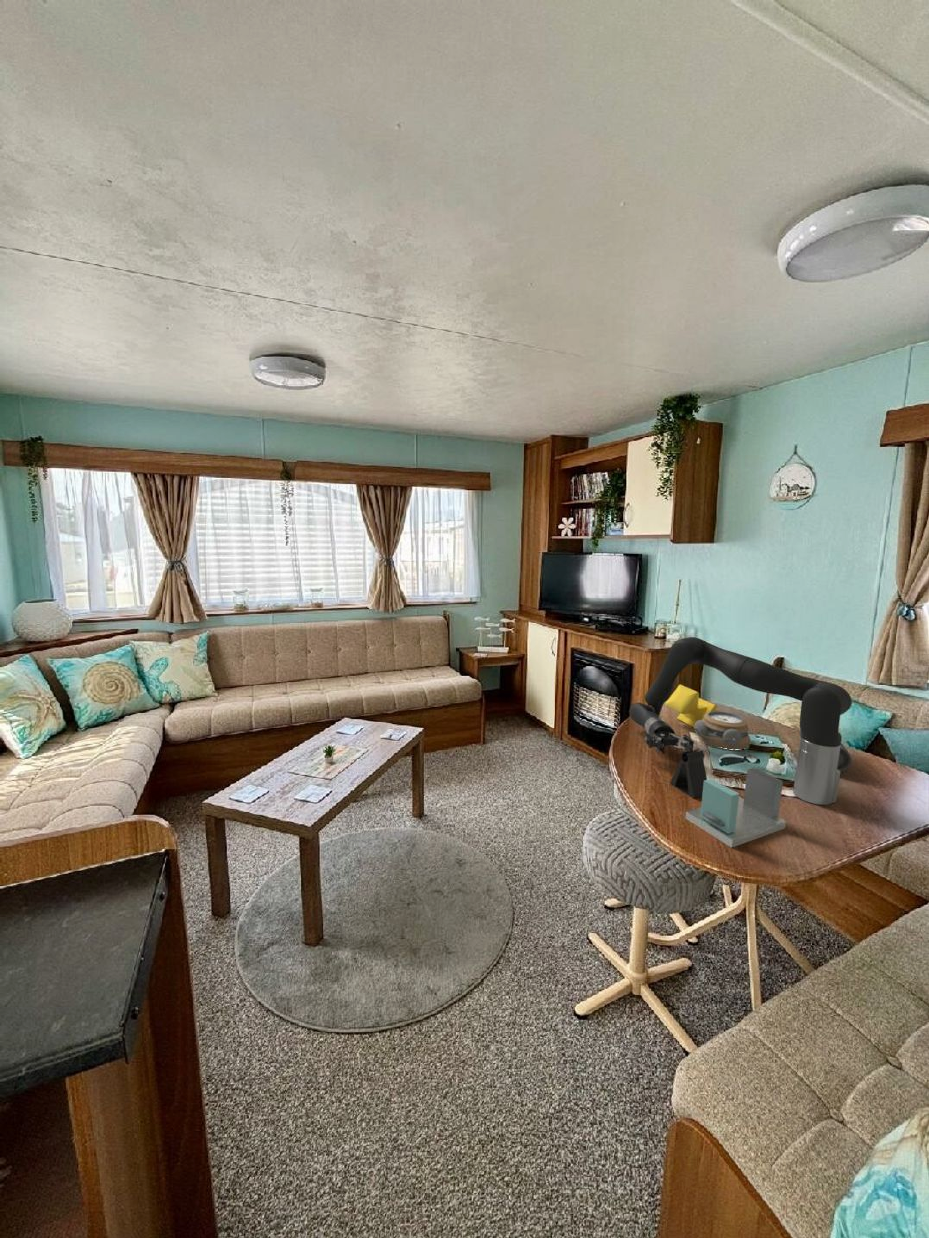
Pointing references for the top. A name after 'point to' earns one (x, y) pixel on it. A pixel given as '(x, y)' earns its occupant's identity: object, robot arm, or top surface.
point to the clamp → (689, 705)
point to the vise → (750, 811)
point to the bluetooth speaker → (842, 758)
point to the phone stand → (690, 773)
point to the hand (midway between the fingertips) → (677, 750)
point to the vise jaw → (719, 805)
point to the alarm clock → (723, 730)
